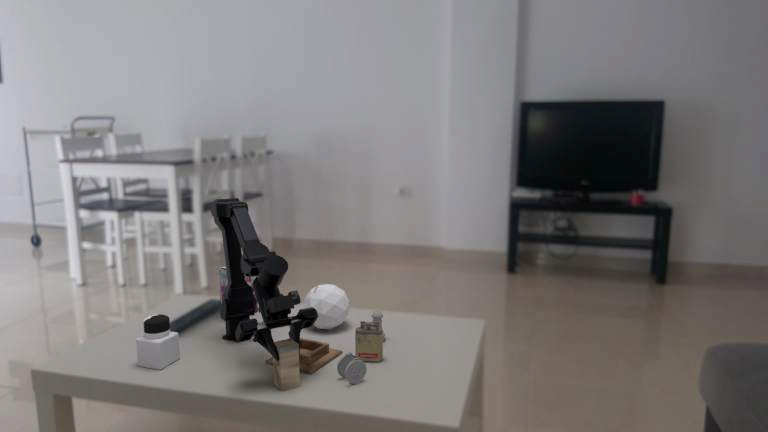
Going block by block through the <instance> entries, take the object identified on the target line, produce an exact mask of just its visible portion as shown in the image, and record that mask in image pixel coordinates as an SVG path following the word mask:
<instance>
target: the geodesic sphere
mask: <svg viewBox="0 0 768 432" xmlns="http://www.w3.org/2000/svg"><path fill="white" fill-rule="evenodd" d="M310 307H313V308H315V309H316V310H317V313H318V315H319V316H318V318H317V320H316V321H315V323H314V324H313V326H314V327H316V328H317V329H321V330H327V331H328V330H329V331H330V330H333V329H335V328H336V327H338V326H340V325H342V324H343V322H344V321H345V320H346V318H347V317H348V316H349V312H350V310H349V309H350V301H349V299H348V296H347V294H346V291H345V290H343V289H342V288H340V287H338V286H337V285H336V284H331V283H329V282H328V283H327V282H321V283H320V284H319V285H317V286H315V287H313V288H311V289H310V291H309V292H308V293H307V295H306V296H305V297H304V306H303V309H305V308H310Z"/></svg>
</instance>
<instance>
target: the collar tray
mask: <svg viewBox="0 0 768 432" xmlns="http://www.w3.org/2000/svg"><path fill="white" fill-rule="evenodd" d="M342 354H343V350H341V349H335V348H331V347H330V343H327V342H323V341H318V340H313V339H308V338H304V337H300V354H299V373H300V372H301V373H305V374H309V375H313V374H314V373H316V372H317V371H319V370H320V369H322V368H323V367H324V366H327V364H328V363H330V362H331V361H333V360H335V359H336V358H337V357H338V356H340V355H342ZM265 364H268V365H272V366H274V361H273V356H271V357H270V358H267V359H265Z"/></svg>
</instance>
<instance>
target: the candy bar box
mask: <svg viewBox="0 0 768 432" xmlns="http://www.w3.org/2000/svg"><path fill="white" fill-rule="evenodd" d="M218 270H219V295H220V297H219V298H220V304H221V303H222V301H223V299H224V297H223V292H224V290H225V288H226V286H227V284H228V279H227V271H226V265H225V266H221V267H219V269H218ZM244 276H245V274H244ZM256 277H258V276H253V277H248V276H245V281H246V282H247V283H248V285H249V286H251V287H253V286H252V283H253V281H254V279H255V278H256ZM253 295H254V296H255V293H254V292H253ZM255 299H256V296H255ZM258 308H259V306H258V302H257V299H256V309H255V314H256V313H259V311H258ZM220 317H221V316H220ZM220 319H223V318H222V317H221V318H220ZM223 320H224V319H223Z"/></svg>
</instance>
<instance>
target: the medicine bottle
mask: <svg viewBox="0 0 768 432" xmlns="http://www.w3.org/2000/svg"><path fill="white" fill-rule="evenodd" d="M142 324H143V335H142V336H140V337H139V336H138V338H136V339H135V342H136V343H135V344H136V355H137V356H136V357H137V358H136V359H137V366H138V367H142V368H148V369H153V370H159V371H161V370H162V369H165V368H166V367H168V366H170V365H171V364H173V363H175V362H177V361H178V360H180V358H181V355H180V339H179V338H180V337H179V332H176V331H171V323H170V317H169V316H168V315H167V314H160V313H159V314H152V315H150V316H147V317H145V318H144V319H143V321H142Z"/></svg>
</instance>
